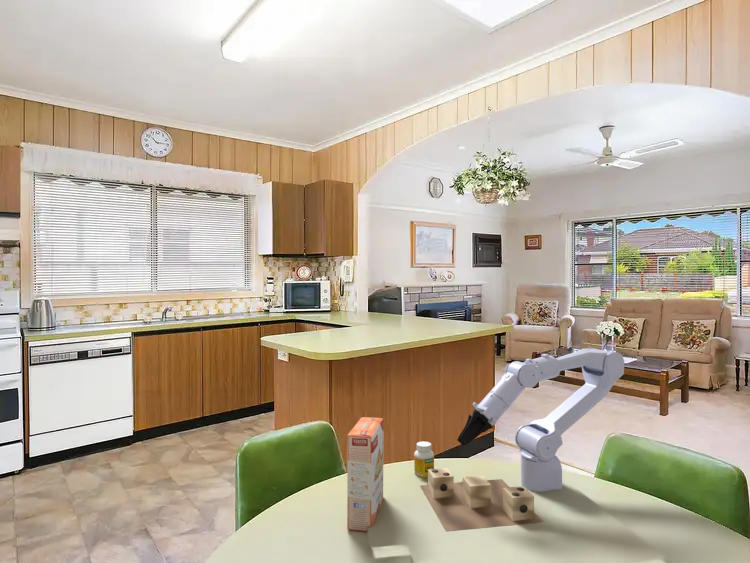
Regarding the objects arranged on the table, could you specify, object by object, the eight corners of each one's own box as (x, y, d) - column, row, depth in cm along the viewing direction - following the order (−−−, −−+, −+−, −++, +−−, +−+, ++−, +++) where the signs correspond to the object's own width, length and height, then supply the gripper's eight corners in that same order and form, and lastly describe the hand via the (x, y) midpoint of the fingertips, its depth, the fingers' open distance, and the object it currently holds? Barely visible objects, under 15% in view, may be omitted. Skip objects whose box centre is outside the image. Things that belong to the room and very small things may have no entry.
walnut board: (501, 484, 123) (501, 479, 123) (544, 528, 102) (544, 521, 102) (419, 491, 120) (419, 485, 120) (445, 538, 98) (445, 531, 98)
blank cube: (483, 496, 114) (482, 475, 114) (491, 506, 109) (491, 484, 109) (463, 498, 113) (462, 477, 113) (470, 508, 108) (470, 486, 108)
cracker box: (373, 533, 100) (372, 436, 100) (346, 531, 102) (345, 434, 101) (385, 502, 114) (384, 416, 114) (361, 500, 115) (360, 415, 115)
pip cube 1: (447, 487, 118) (447, 467, 118) (453, 497, 113) (453, 476, 113) (428, 489, 118) (428, 469, 118) (433, 498, 113) (433, 477, 113)
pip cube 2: (523, 508, 108) (523, 485, 108) (534, 519, 103) (534, 495, 103) (503, 509, 107) (502, 487, 107) (512, 521, 102) (512, 497, 102)
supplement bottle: (423, 473, 131) (422, 438, 131) (438, 479, 127) (438, 443, 127) (410, 479, 127) (410, 443, 127) (425, 485, 124) (425, 448, 123)
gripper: (481, 393, 124) (447, 432, 121) (490, 384, 111) (451, 427, 107) (502, 412, 122) (468, 452, 119) (514, 405, 108) (475, 450, 105)
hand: (461, 442), depth 113 cm, fingers open, 7 cm apart
